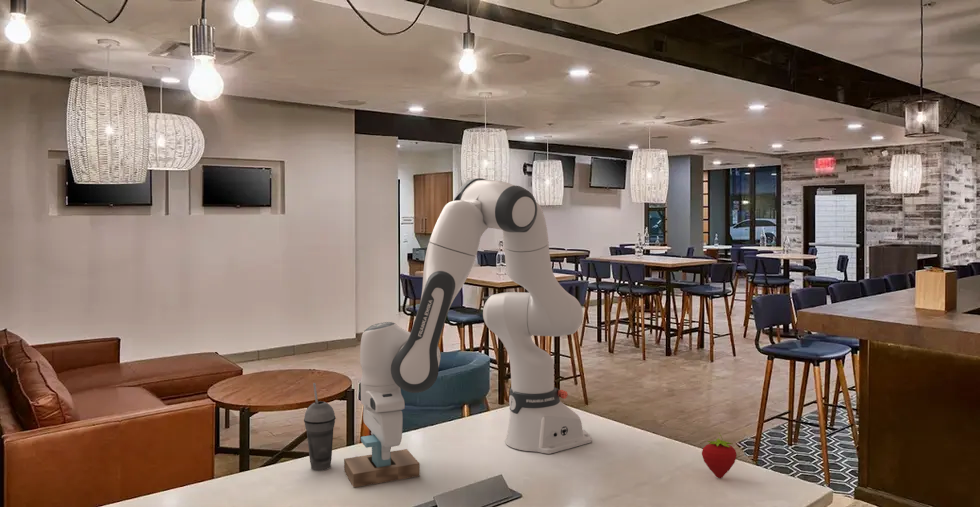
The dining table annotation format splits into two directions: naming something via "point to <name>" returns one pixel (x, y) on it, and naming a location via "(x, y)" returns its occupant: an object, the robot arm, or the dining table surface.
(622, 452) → the dining table surface
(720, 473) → the strawberry
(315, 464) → the beverage cup
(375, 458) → the bracket
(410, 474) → the well block
